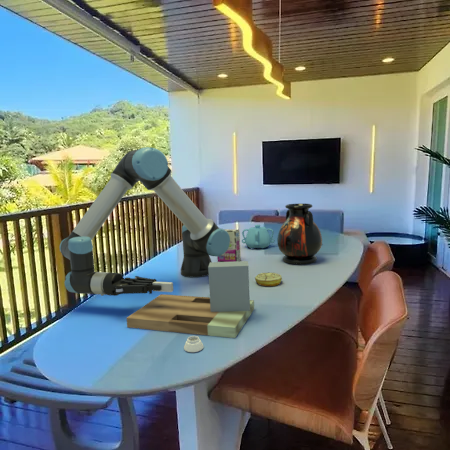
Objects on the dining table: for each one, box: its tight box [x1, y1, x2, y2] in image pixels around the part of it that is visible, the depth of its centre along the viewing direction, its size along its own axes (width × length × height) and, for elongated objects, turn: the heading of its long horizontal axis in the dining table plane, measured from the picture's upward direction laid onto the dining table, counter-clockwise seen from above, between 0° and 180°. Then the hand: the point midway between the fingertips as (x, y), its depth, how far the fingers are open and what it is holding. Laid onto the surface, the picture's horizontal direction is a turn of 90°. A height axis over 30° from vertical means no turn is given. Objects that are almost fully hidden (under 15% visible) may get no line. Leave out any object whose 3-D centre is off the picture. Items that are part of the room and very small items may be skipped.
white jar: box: [183, 335, 205, 353], centre depth 96 cm, size 5×3×5 cm
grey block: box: [208, 260, 251, 312], centre depth 114 cm, size 6×12×14 cm, turn 88°
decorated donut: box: [254, 272, 283, 287], centre depth 149 cm, size 10×11×4 cm
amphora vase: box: [277, 203, 323, 266], centre depth 180 cm, size 22×22×28 cm
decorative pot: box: [241, 224, 275, 249], centre depth 219 cm, size 16×16×14 cm
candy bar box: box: [216, 228, 242, 262], centre depth 187 cm, size 11×5×16 cm, turn 62°
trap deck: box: [126, 293, 255, 339], centre depth 116 cm, size 22×34×3 cm, turn 72°
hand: (171, 287), depth 117 cm, fingers closed
